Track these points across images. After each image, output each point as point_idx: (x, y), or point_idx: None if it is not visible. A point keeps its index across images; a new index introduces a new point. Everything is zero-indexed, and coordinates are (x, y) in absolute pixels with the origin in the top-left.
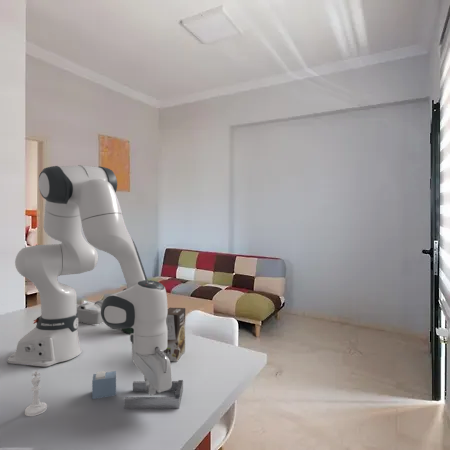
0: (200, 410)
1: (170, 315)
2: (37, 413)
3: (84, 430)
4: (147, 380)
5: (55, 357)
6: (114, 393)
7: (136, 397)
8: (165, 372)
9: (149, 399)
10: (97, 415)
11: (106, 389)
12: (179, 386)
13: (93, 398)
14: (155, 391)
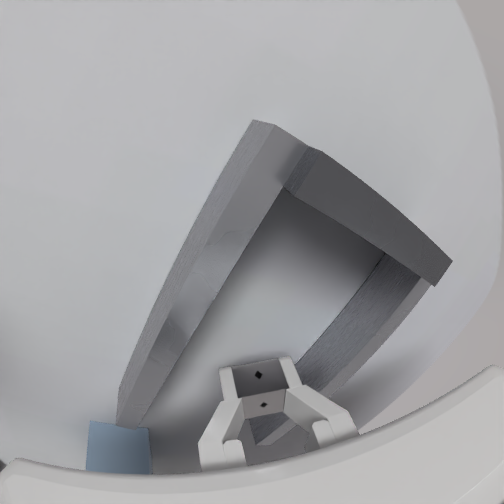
0: (473, 153)
1: None
2: None
3: (296, 452)
4: (232, 438)
5: None
6: (148, 437)
7: (287, 423)
8: (477, 446)
9: (340, 384)
10: (251, 449)
11: (150, 465)
12: (397, 232)
13: (151, 457)
14: (294, 366)
